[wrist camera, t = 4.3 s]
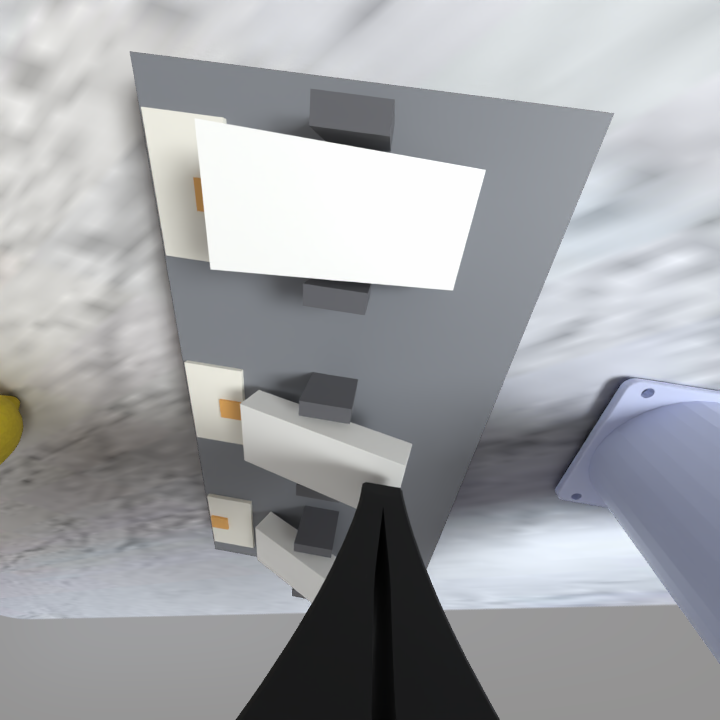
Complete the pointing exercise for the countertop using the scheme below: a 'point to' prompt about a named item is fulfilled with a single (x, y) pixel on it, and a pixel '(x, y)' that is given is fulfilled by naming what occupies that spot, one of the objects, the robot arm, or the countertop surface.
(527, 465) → the countertop surface
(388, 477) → the switch mid
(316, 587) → the switch
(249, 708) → the robot arm
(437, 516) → the switch panel
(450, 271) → the switch
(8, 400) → the lemon
